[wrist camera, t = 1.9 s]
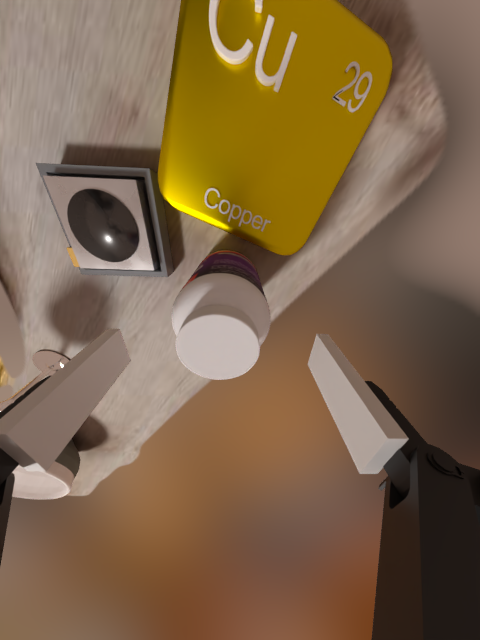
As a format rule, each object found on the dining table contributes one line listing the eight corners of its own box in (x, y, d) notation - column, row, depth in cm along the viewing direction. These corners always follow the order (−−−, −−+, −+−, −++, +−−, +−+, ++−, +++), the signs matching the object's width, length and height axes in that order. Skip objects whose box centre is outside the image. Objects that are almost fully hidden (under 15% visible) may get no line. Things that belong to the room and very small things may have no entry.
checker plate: (61, 179, 17) (40, 175, 15) (145, 183, 18) (134, 179, 16) (92, 263, 21) (78, 268, 20) (160, 266, 22) (153, 271, 20)
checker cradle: (58, 168, 18) (30, 161, 16) (159, 173, 18) (147, 167, 16) (95, 269, 23) (78, 275, 21) (173, 271, 23) (166, 278, 21)
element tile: (168, 202, 20) (150, 199, 16) (207, -27, 13) (193, -140, 9) (286, 255, 23) (297, 263, 19) (369, 91, 16) (415, 48, 12)
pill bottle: (200, 242, 22) (150, 278, 9) (264, 255, 23) (298, 305, 10) (195, 302, 26) (155, 384, 13) (250, 311, 27) (261, 397, 14)
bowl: (106, 458, 49) (84, 499, 41) (35, 457, 48) (0, 500, 41) (77, 417, 39) (42, 462, 32) (-12, 416, 39) (-68, 462, 31)
